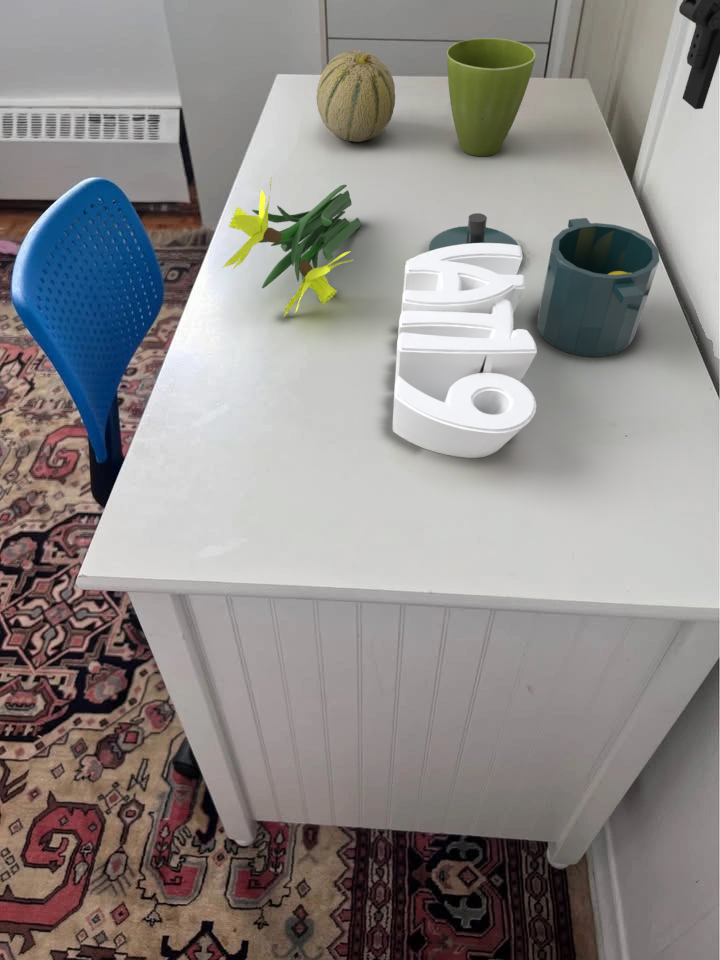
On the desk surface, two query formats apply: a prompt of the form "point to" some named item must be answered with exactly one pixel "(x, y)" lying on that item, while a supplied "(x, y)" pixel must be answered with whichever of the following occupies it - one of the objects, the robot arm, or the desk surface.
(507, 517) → the desk surface
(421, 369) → the wavy white extrusion
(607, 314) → the pot
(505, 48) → the flower pot
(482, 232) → the lid
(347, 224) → the daffodil flowers
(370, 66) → the cantaloupe
